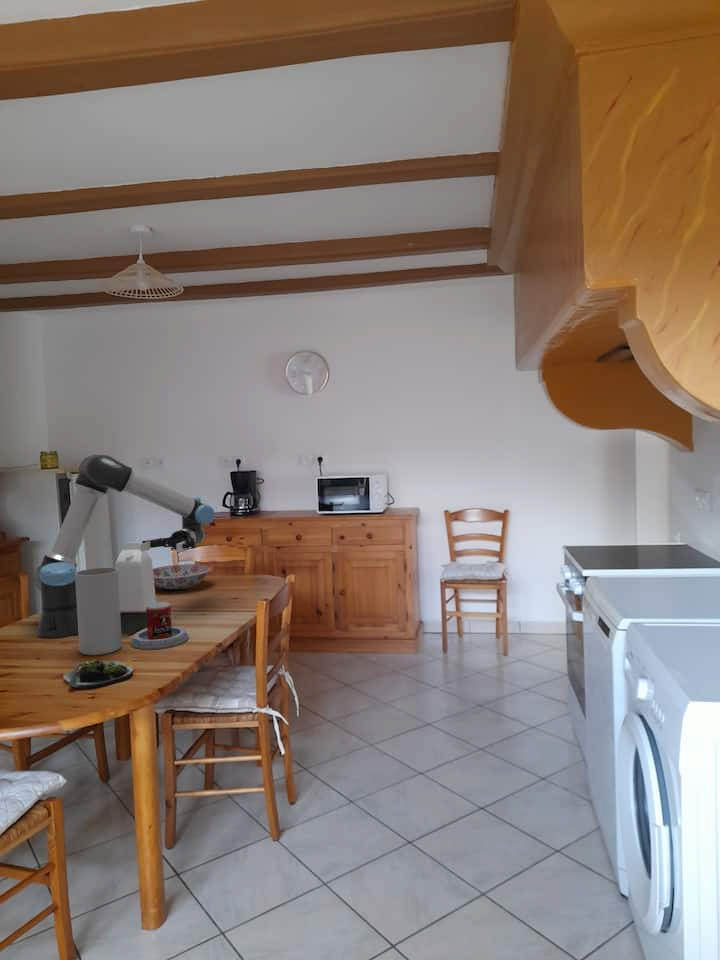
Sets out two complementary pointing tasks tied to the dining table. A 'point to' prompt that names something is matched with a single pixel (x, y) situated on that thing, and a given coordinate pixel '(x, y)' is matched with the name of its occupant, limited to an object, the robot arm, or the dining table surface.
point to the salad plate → (97, 674)
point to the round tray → (159, 640)
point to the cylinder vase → (98, 611)
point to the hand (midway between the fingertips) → (159, 547)
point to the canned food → (159, 620)
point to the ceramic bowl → (179, 575)
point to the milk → (135, 578)
